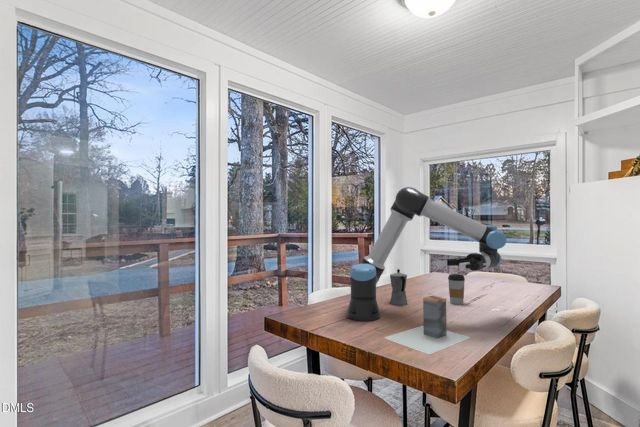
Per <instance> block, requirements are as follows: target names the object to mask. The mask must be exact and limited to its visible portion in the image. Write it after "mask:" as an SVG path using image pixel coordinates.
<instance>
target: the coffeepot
mask: <svg viewBox="0 0 640 427" xmlns="http://www.w3.org/2000/svg"><path fill="white" fill-rule="evenodd" d="M400 271H401V269H397V270H396V272H395V273H391V274H389V277H390V278H389V279H390V284H391V288H392V290H391V296H390V304H391V305H393V306H406V305H408V300H407V298H408V297H407V293H406V285H407V279H408V275H407V274H405V273H402V272H400Z"/></svg>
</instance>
